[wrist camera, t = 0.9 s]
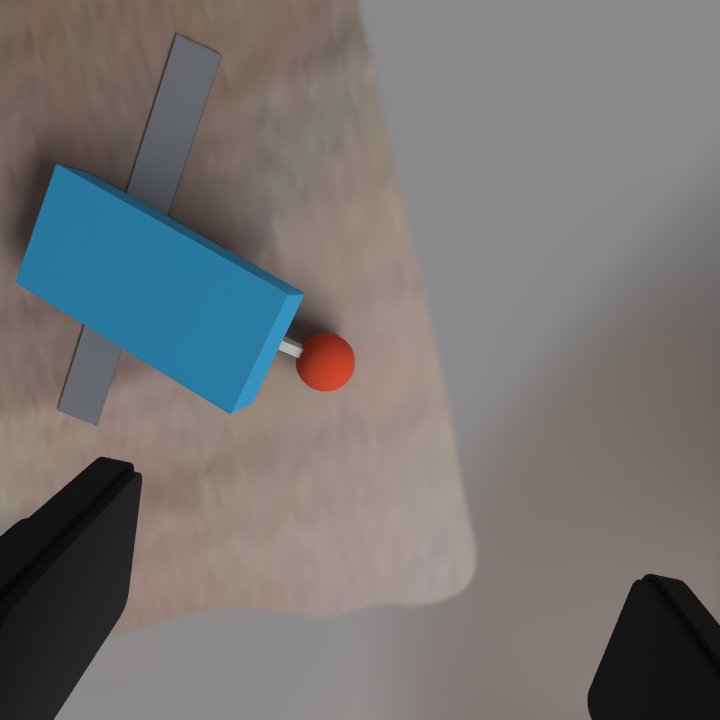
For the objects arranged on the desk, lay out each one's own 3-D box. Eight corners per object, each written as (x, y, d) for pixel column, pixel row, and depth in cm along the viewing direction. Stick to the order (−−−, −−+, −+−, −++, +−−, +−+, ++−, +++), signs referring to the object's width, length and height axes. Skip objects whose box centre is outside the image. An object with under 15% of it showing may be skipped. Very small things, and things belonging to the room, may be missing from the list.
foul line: (96, 424, 35) (96, 425, 34) (58, 409, 34) (57, 410, 34) (221, 55, 29) (221, 55, 29) (177, 34, 29) (176, 33, 29)
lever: (104, 283, 37) (332, 419, 34) (15, 282, 30) (291, 452, 27) (141, 187, 35) (384, 322, 32) (56, 163, 28) (354, 330, 26)
